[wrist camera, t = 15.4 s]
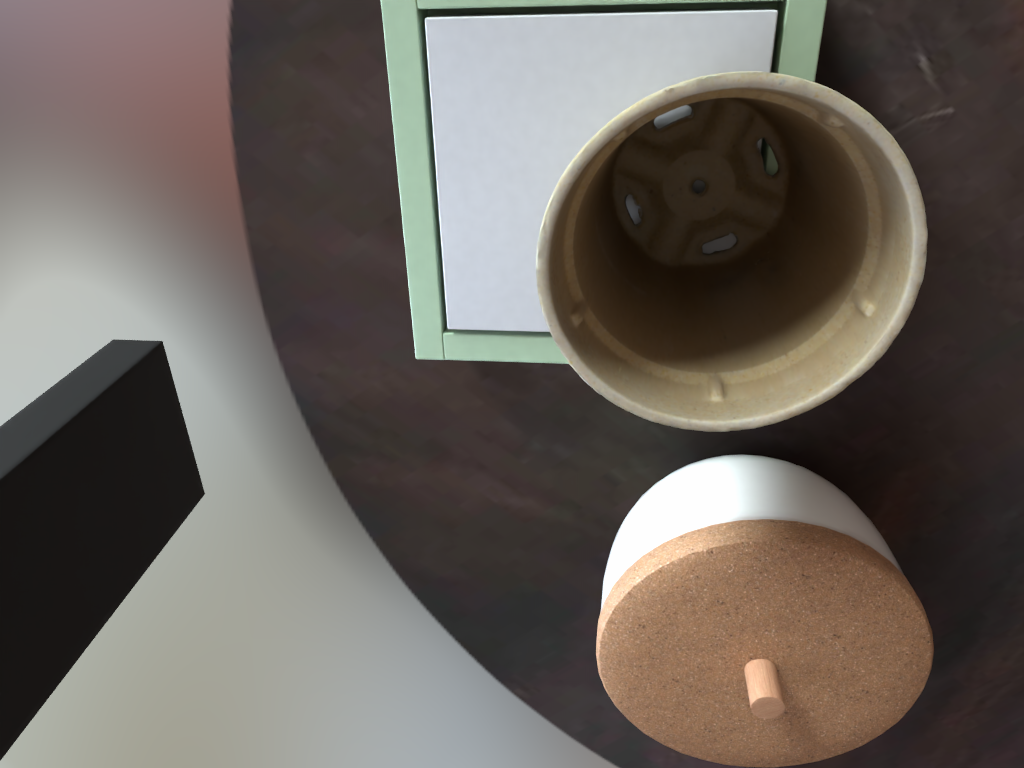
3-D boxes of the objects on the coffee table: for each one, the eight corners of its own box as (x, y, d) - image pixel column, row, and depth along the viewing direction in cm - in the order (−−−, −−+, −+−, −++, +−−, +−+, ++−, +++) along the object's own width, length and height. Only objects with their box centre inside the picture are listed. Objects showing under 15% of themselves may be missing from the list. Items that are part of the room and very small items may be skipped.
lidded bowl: (904, 564, 38) (1001, 771, 28) (669, 639, 42) (683, 840, 33) (807, 362, 33) (883, 527, 24) (554, 469, 38) (532, 644, 28)
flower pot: (687, 356, 30) (710, 491, 22) (505, 191, 28) (461, 279, 20) (899, 177, 26) (1013, 268, 18) (705, -34, 24) (743, -28, 16)
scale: (402, -48, 28) (375, -48, 25) (811, -61, 26) (837, -63, 23) (434, 333, 35) (416, 369, 32) (755, 341, 33) (769, 381, 30)
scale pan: (434, 14, 27) (424, 17, 25) (770, 7, 25) (778, 10, 24) (454, 313, 32) (447, 329, 31) (732, 320, 31) (737, 337, 29)
